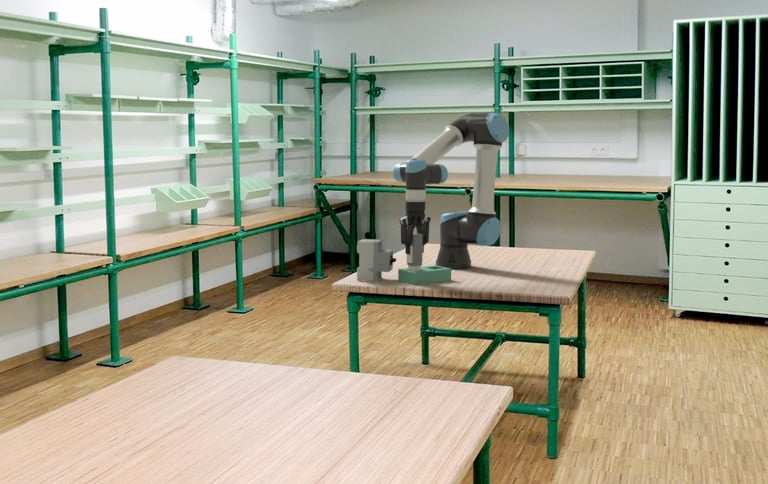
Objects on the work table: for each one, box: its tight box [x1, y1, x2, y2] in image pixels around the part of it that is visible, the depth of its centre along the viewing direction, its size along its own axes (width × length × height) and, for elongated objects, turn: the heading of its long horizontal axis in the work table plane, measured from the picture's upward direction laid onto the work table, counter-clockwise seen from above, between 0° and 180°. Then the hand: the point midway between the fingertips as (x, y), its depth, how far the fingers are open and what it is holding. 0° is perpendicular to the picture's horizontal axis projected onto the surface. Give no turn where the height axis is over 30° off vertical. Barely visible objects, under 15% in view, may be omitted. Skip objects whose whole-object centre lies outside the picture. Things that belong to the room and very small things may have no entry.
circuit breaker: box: [356, 238, 397, 282], centre depth 331 cm, size 8×14×15 cm, turn 78°
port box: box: [397, 264, 452, 286], centre depth 330 cm, size 18×10×4 cm, turn 125°
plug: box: [406, 232, 423, 272], centre depth 326 cm, size 4×4×15 cm
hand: (414, 262), depth 326 cm, fingers closed on plug, 4 cm apart
